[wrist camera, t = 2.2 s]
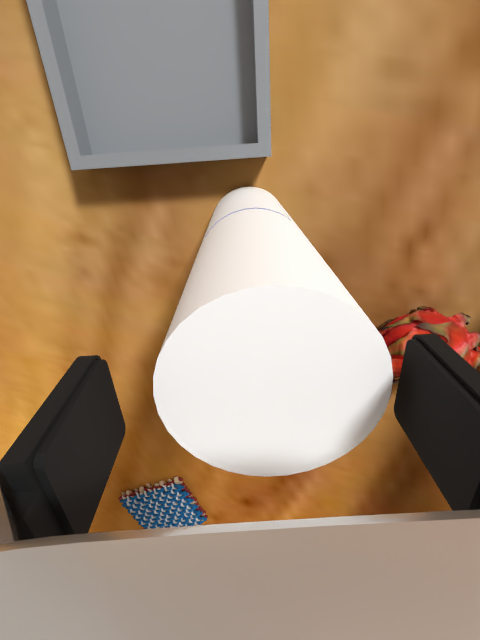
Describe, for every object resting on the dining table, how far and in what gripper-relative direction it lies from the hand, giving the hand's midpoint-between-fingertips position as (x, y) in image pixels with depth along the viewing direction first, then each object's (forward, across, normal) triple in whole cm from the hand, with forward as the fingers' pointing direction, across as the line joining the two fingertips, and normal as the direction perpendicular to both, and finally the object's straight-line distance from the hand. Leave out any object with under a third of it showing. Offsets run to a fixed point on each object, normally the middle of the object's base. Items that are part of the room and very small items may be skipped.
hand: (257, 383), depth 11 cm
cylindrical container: (+25, -1, 0) cm, 25 cm away
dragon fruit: (+24, -18, +13) cm, 33 cm away
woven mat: (+25, +14, +41) cm, 50 cm away
